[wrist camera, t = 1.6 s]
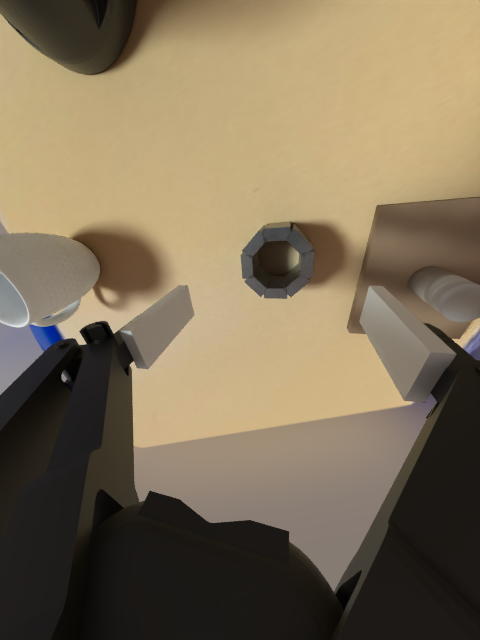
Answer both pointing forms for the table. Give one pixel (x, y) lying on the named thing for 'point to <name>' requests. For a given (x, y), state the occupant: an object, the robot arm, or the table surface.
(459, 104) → the table surface
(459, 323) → the stand
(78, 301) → the mug
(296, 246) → the ring
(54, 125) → the table surface
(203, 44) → the table surface
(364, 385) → the table surface
